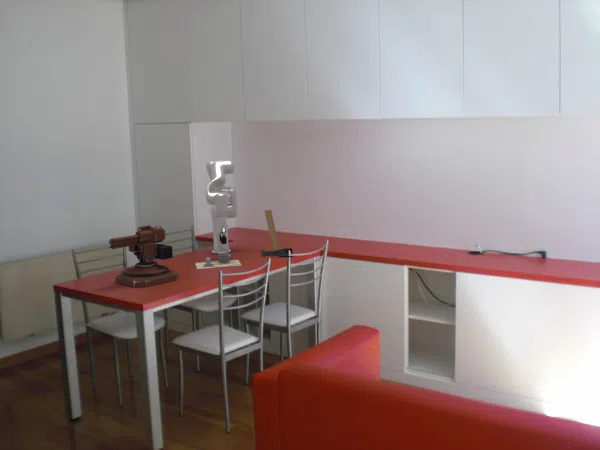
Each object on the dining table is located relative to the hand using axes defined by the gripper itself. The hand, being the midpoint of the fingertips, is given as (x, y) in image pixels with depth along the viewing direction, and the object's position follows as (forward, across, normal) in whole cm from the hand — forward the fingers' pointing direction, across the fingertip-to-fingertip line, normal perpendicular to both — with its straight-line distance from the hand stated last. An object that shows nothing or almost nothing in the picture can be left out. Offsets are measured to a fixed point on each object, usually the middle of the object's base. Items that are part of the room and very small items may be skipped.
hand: (223, 242), depth 418 cm
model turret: (+14, +28, -48) cm, 57 cm away
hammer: (+13, -14, +34) cm, 39 cm away
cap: (+12, -1, 0) cm, 12 cm away
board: (+13, +3, -4) cm, 14 cm away
